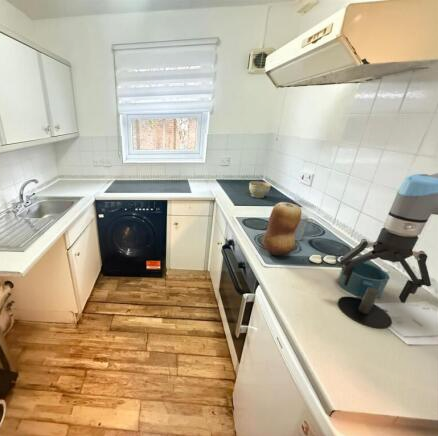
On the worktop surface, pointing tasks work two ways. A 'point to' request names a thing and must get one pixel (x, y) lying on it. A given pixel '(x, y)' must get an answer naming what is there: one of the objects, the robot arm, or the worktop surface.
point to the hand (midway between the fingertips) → (371, 291)
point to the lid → (365, 310)
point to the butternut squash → (282, 228)
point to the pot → (364, 279)
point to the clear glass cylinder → (301, 227)
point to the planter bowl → (259, 189)
